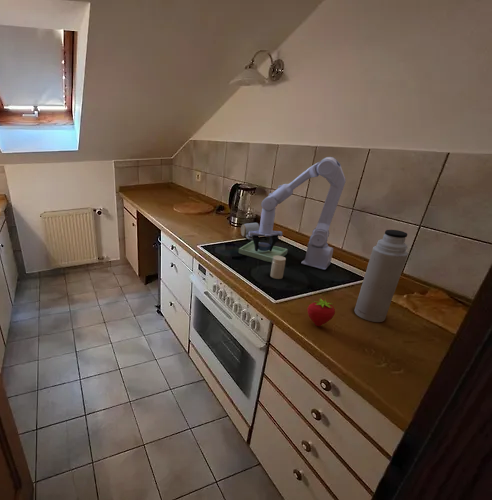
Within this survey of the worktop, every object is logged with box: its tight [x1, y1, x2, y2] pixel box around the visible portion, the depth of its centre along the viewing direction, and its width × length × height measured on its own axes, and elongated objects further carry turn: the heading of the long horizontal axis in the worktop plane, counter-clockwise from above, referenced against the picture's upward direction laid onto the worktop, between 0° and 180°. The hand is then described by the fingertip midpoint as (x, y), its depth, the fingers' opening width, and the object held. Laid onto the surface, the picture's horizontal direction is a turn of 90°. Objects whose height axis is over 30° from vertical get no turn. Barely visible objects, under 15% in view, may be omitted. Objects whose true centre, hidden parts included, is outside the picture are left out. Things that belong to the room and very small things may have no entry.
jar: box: [269, 256, 287, 280], centre depth 118 cm, size 5×5×8 cm
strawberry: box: [306, 297, 336, 327], centre depth 88 cm, size 6×8×10 cm
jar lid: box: [258, 241, 271, 251], centre depth 139 cm, size 6×6×2 cm
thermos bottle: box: [354, 229, 409, 323], centre depth 89 cm, size 8×8×28 cm
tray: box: [238, 240, 289, 264], centre depth 140 cm, size 17×14×2 cm
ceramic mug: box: [240, 222, 260, 242], centre depth 158 cm, size 11×8×8 cm
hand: (262, 250), depth 140 cm, fingers closed on jar lid, 6 cm apart
